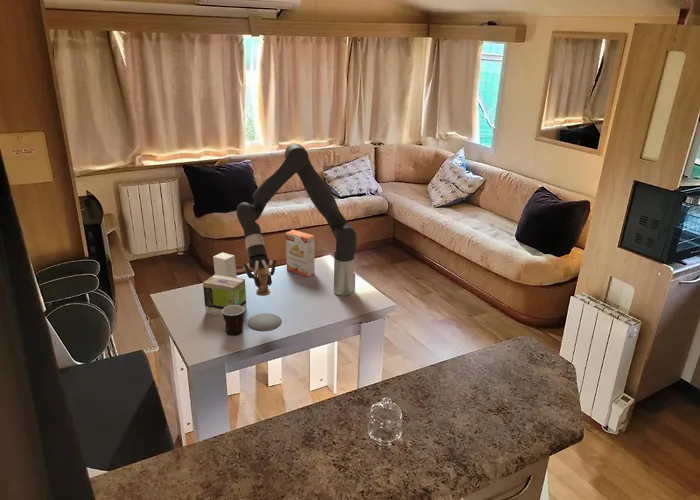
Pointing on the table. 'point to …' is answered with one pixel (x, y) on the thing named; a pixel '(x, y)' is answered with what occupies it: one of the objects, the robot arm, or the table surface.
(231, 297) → the tea box
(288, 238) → the cracker box
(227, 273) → the skincare box
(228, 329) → the coffee mug
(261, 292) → the wooden turned knob
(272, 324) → the felt mat
